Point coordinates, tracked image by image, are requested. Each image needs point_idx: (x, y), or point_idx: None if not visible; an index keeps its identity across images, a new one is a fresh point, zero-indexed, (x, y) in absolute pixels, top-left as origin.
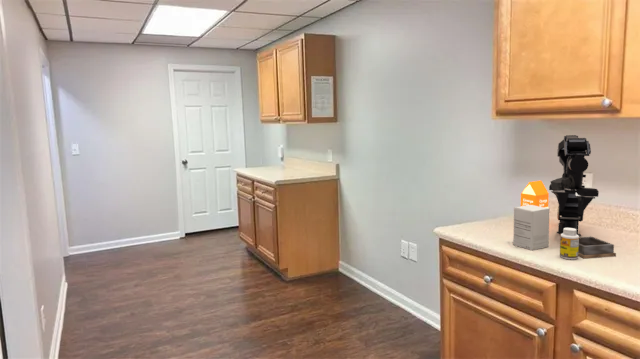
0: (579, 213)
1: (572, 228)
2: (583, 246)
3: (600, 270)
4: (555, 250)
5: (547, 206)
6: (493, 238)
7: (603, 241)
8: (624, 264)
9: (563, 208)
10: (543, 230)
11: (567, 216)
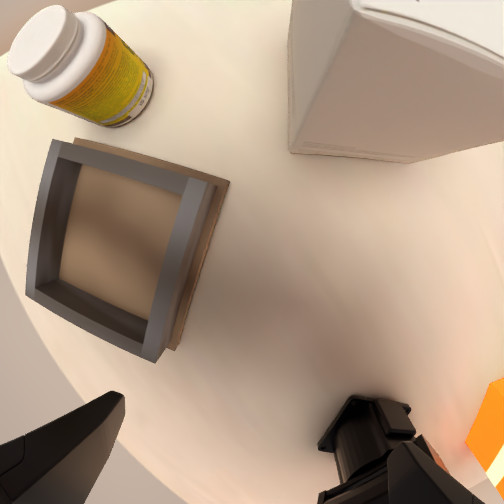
0: (105, 397)
1: (26, 59)
2: (57, 140)
3: (14, 95)
4: (224, 128)
5: (497, 484)
6: None
7: (68, 315)
8: (2, 216)
9: (389, 472)
10: (297, 59)
11: (381, 474)
